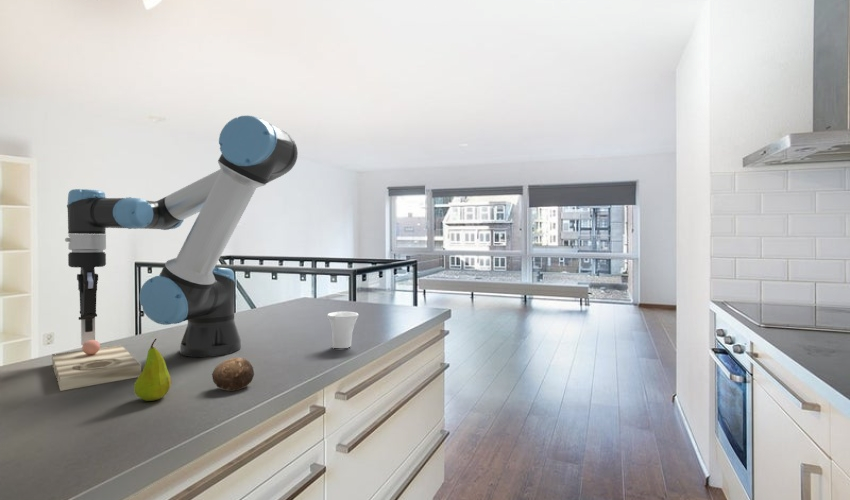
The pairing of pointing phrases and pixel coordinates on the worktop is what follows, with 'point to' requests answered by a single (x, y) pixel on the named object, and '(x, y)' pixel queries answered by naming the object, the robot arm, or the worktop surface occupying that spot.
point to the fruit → (153, 377)
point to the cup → (342, 328)
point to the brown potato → (233, 374)
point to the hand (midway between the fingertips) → (88, 343)
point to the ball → (91, 347)
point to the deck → (94, 367)
